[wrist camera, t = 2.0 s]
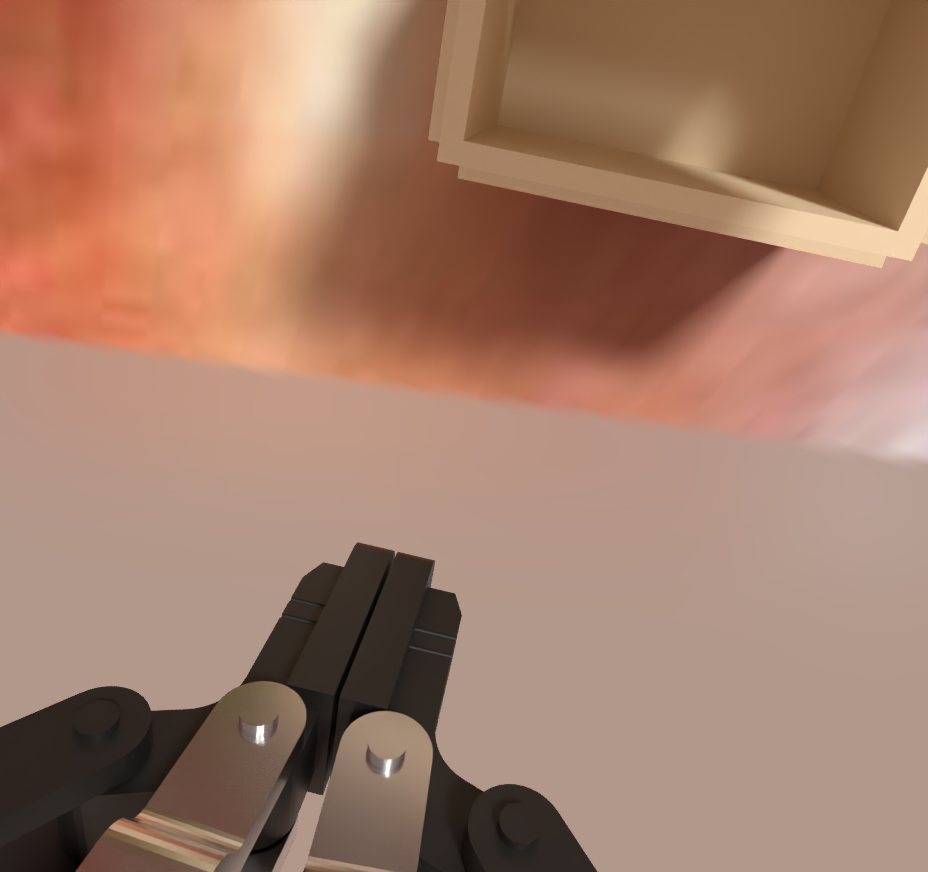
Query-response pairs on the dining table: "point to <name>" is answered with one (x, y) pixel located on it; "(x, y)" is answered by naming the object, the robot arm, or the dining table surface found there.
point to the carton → (700, 113)
